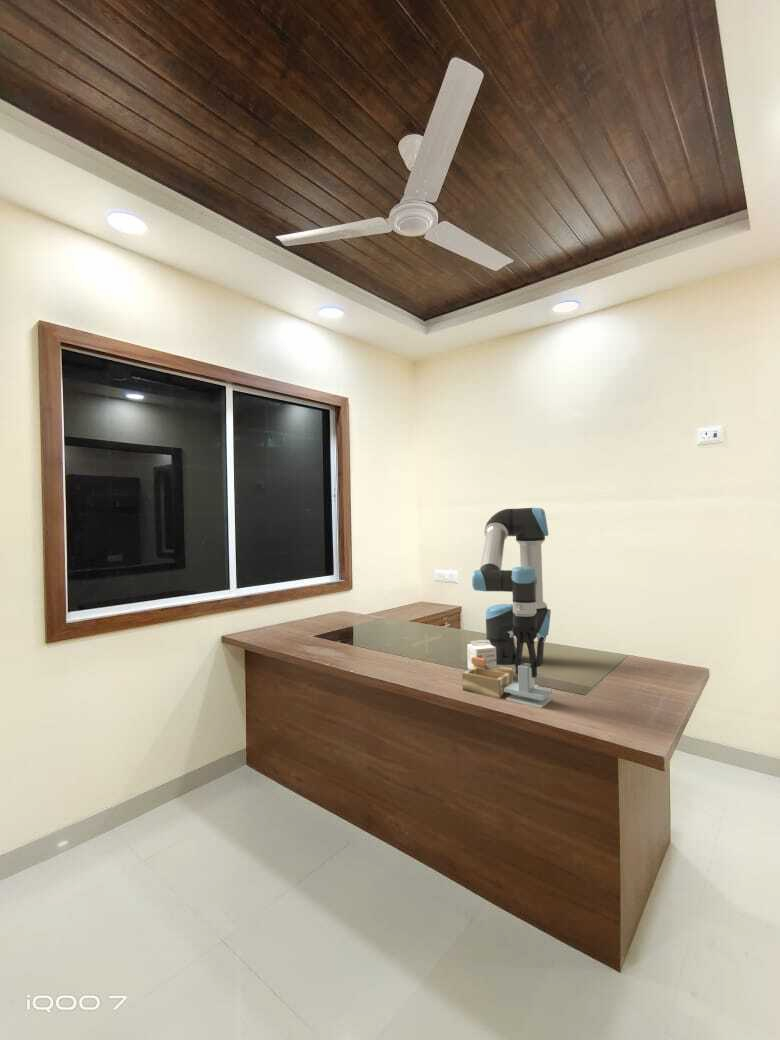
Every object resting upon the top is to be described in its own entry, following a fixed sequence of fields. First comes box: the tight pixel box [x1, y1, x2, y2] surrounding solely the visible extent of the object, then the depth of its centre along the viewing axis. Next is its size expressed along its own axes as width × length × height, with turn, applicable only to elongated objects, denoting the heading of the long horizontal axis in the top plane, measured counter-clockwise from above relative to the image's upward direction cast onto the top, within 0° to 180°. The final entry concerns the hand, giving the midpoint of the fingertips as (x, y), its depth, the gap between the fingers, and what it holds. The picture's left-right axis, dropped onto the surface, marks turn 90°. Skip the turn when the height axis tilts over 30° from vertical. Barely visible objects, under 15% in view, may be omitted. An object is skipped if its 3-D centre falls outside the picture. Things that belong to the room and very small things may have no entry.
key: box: [472, 657, 486, 666], centre depth 174 cm, size 2×5×2 cm, turn 51°
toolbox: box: [461, 664, 514, 699], centre depth 168 cm, size 11×14×7 cm
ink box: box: [466, 639, 498, 671], centre depth 184 cm, size 9×8×13 cm
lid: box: [504, 662, 553, 701], centre depth 158 cm, size 9×13×10 cm
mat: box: [505, 694, 551, 709], centre depth 157 cm, size 8×12×1 cm, turn 51°
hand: (526, 685), depth 157 cm, fingers closed on lid, 3 cm apart
